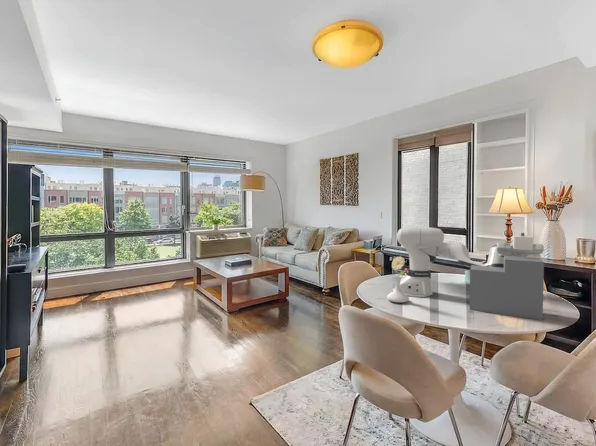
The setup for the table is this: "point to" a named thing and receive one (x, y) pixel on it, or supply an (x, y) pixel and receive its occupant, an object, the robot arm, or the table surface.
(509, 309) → the stand
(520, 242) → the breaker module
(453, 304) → the table surface
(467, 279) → the mint green angled piece
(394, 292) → the flower in vase
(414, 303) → the table surface
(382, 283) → the table surface
